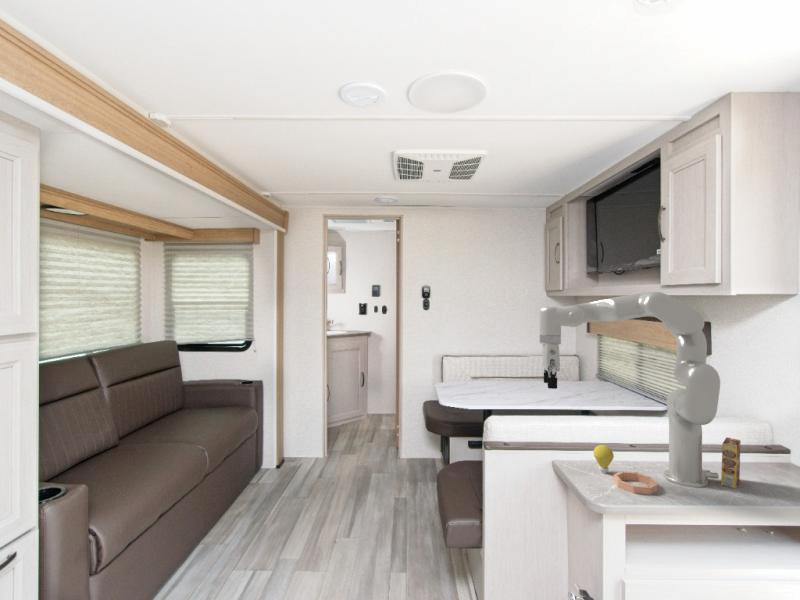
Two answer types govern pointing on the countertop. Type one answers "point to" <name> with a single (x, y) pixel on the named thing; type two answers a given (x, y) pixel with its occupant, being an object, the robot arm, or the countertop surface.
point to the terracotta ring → (635, 477)
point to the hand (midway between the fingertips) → (550, 385)
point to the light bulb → (603, 457)
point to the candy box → (730, 462)
